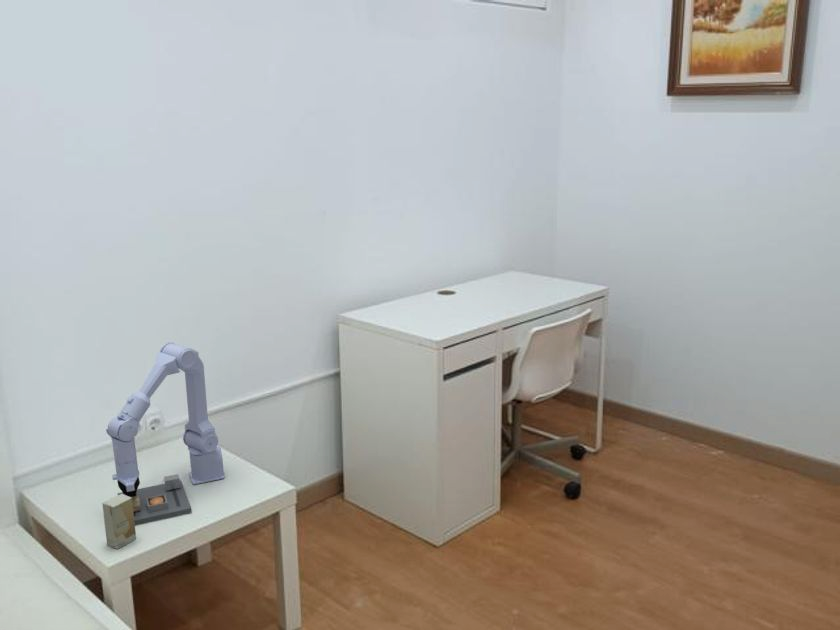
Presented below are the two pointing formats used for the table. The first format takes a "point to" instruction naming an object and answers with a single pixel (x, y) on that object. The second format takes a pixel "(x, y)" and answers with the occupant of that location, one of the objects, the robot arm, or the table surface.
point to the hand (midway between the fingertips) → (131, 503)
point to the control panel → (172, 505)
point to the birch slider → (136, 503)
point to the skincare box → (119, 521)
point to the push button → (156, 501)
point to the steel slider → (172, 482)
